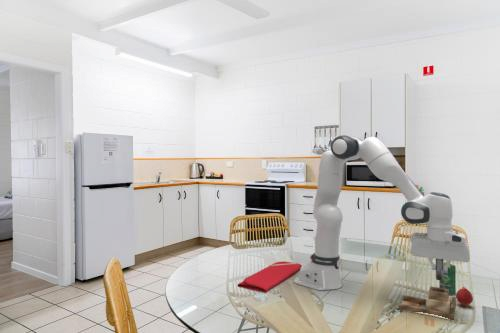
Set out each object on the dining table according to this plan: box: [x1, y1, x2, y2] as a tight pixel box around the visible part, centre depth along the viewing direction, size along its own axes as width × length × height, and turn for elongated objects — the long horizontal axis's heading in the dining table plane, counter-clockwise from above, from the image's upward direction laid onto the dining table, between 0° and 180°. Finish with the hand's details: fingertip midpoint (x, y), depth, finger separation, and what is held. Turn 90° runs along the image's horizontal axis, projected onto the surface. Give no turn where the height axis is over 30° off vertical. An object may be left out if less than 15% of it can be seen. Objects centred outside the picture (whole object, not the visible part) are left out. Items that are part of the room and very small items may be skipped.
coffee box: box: [438, 260, 457, 297], centre depth 161 cm, size 8×3×13 cm, turn 6°
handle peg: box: [435, 259, 444, 281], centre depth 139 cm, size 3×3×10 cm
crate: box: [425, 285, 452, 314], centre depth 139 cm, size 8×8×8 cm
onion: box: [455, 285, 474, 307], centre depth 145 cm, size 6×6×8 cm
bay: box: [397, 294, 457, 321], centre depth 141 cm, size 19×12×5 cm, turn 58°
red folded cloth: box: [237, 261, 303, 294], centre depth 180 cm, size 16×41×4 cm, turn 148°
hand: (439, 270), depth 139 cm, fingers closed on handle peg, 3 cm apart
